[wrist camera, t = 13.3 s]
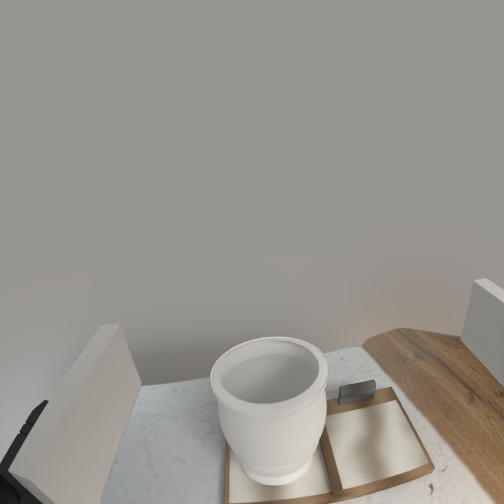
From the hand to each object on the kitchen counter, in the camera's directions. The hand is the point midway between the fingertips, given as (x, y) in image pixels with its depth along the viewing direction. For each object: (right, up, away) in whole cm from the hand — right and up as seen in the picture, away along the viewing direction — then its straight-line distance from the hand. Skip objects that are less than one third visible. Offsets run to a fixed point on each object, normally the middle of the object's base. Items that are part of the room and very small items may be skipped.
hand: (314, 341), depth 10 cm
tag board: (+7, -22, +22) cm, 31 cm away
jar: (+1, -21, +20) cm, 29 cm away
